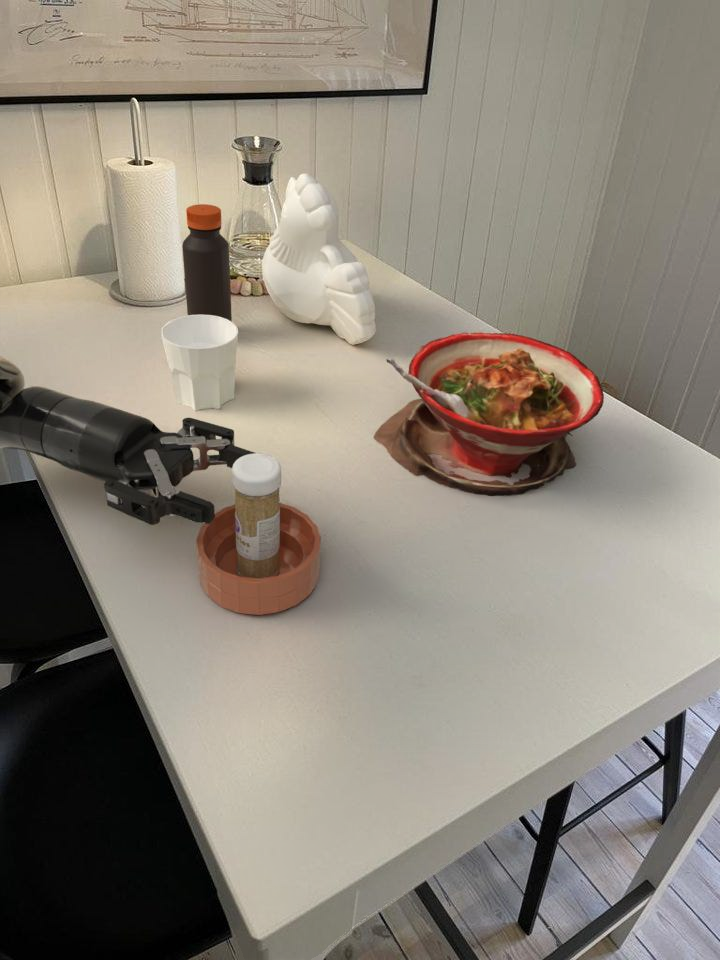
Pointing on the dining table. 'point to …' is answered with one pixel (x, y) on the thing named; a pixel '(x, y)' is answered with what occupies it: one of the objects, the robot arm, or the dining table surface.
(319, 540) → the bowl
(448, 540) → the dining table surface
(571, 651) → the dining table surface
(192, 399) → the cup
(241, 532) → the sprinkles bottle
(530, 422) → the stew
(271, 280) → the decorative rooster
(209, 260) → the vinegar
